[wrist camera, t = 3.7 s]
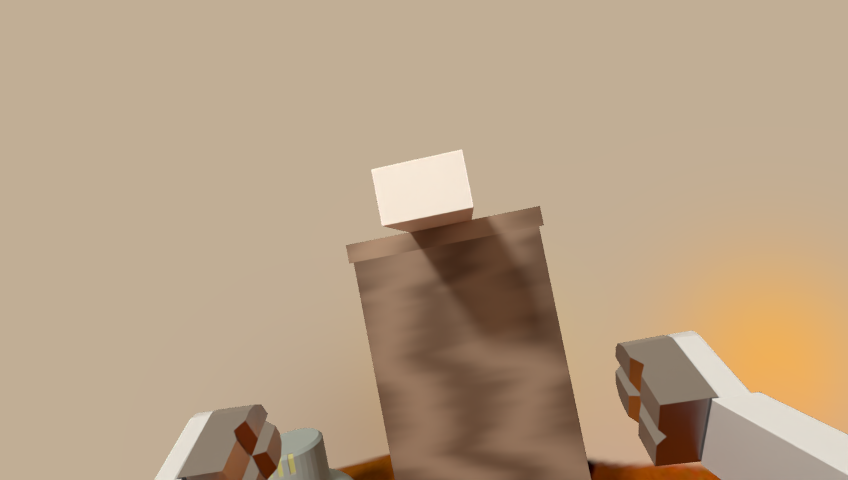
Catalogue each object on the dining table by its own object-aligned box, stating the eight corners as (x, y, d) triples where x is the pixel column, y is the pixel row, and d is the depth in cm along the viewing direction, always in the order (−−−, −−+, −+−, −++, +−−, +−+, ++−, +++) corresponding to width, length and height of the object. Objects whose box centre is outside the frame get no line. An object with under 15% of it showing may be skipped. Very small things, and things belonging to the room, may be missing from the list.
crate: (568, 489, 38) (513, 220, 39) (627, 630, 24) (539, 206, 25) (438, 505, 39) (388, 245, 40) (422, 649, 25) (345, 245, 26)
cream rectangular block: (471, 228, 39) (460, 172, 39) (478, 206, 17) (452, 79, 17) (427, 237, 39) (416, 182, 39) (377, 226, 17) (353, 103, 17)
